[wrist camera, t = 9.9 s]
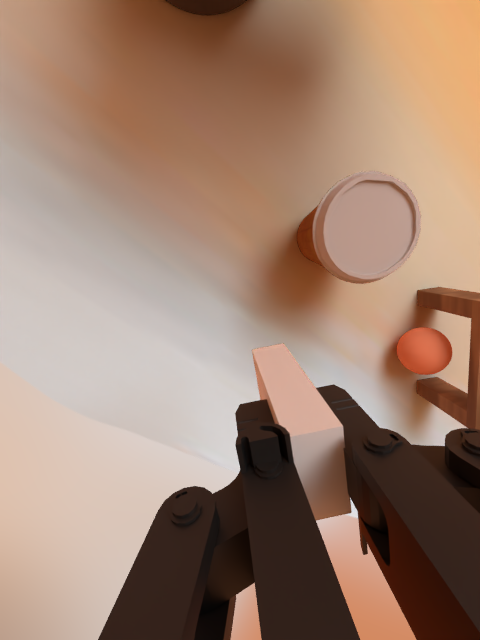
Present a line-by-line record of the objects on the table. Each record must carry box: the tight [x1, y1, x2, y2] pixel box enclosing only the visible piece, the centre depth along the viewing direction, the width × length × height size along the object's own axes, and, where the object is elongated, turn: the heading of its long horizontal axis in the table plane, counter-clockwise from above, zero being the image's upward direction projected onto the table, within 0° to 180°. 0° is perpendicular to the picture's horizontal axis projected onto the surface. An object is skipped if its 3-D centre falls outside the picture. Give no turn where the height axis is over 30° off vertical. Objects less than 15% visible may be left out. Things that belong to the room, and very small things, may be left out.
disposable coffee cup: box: [297, 171, 421, 284], centre depth 31 cm, size 10×10×12 cm
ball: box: [397, 327, 452, 375], centre depth 38 cm, size 6×6×6 cm
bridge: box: [417, 287, 480, 430], centre depth 36 cm, size 3×15×10 cm, turn 7°
